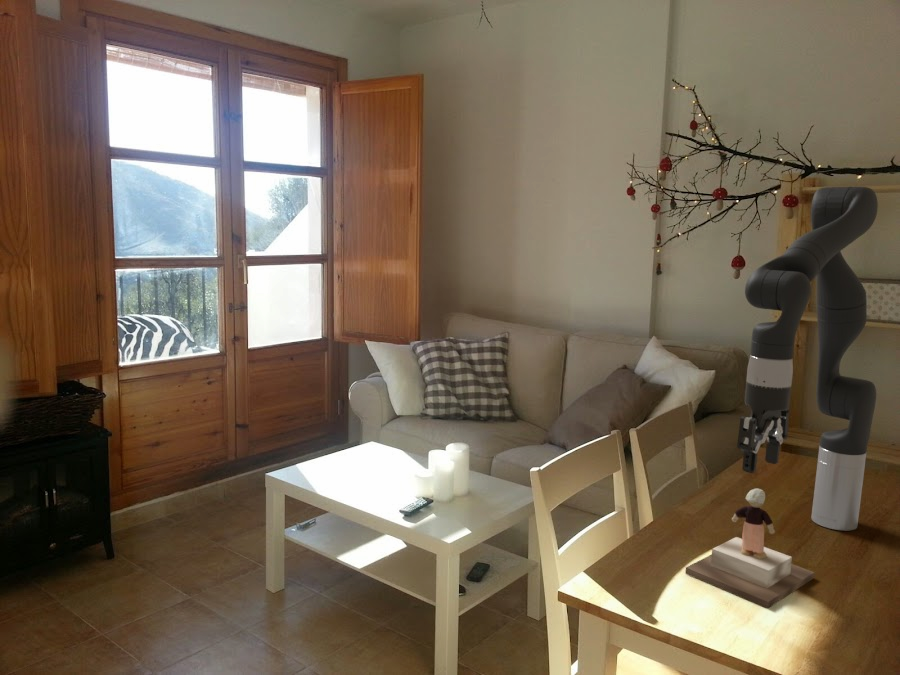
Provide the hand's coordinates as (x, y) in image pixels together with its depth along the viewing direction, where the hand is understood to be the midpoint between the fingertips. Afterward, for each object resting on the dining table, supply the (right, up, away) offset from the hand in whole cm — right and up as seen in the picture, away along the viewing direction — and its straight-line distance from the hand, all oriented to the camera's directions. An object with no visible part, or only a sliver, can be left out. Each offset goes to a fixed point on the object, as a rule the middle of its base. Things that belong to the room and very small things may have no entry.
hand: (760, 467), depth 136 cm
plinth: (-1, -21, +3) cm, 21 cm away
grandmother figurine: (-1, -17, +2) cm, 17 cm away
